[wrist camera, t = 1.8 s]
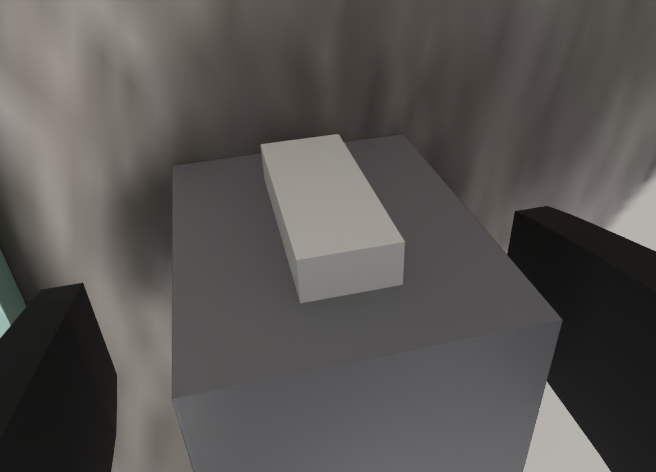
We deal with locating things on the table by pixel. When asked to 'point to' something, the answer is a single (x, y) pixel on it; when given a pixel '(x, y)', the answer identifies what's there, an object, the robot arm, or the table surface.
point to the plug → (348, 317)
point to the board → (8, 297)
